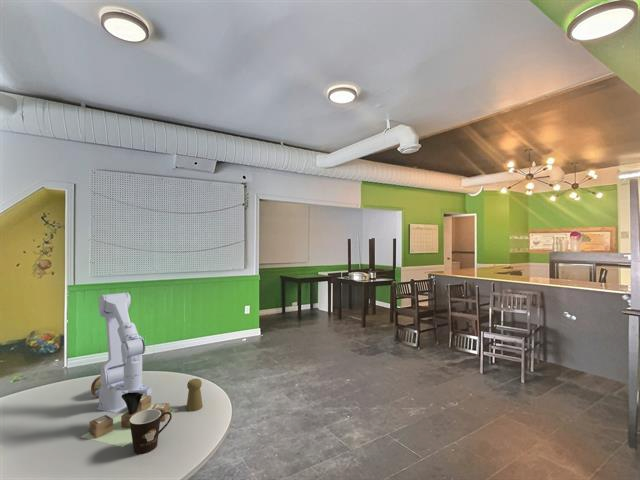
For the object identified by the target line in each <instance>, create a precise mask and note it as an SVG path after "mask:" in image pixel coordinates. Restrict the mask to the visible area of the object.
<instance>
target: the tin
mask: <svg viewBox="0 0 640 480" xmlns="http://www.w3.org/2000/svg"><path fill="white" fill-rule="evenodd" d="M101 386H102V385H101V381H100V375H99V376H98V377H96V378H95V379H94V380H93V381H92V383H91V386H90V391H91V394H92V395H93V396H95V397H96V398H99V390H100V388H101Z"/></svg>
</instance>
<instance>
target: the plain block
mask: <svg viewBox="0 0 640 480" xmlns="http://www.w3.org/2000/svg"><path fill="white" fill-rule="evenodd" d="M126 411H127V410H126ZM141 411H144V409H137V412H135V413H134V414H136V413H138V412H141ZM134 414H129V412H128V411H127V412H126V413H125V414H123V415H122V416H121V428H131V427H130V418H131V417H132V416H133V415H134Z"/></svg>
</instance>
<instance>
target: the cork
mask: <svg viewBox="0 0 640 480" xmlns="http://www.w3.org/2000/svg"><path fill="white" fill-rule="evenodd" d="M202 384H203V383H202V380H201V379H200V378H192V379H190V380H189V381H187V386H186V387H187V389H188V394H187V401H186V408H185V409H186V411H187V412H192V413H193V412H198V411H199V410H201V409H203V405H204V404H203V400H202V392H201V387H202Z"/></svg>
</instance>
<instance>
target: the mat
mask: <svg viewBox="0 0 640 480" xmlns="http://www.w3.org/2000/svg"><path fill="white" fill-rule="evenodd" d="M154 405H155V404H152V403H151V407H149V408H148V409H147V410H149V409H152V408H153V406H154ZM178 410H179V409H178V408H173V407H169V412H170V413H171V415H172V414H174V413H176V412H177V411H178ZM127 411H128V409H127V410H126V411H123V412H122V413H120V414H119V415H117V416H115V417H113V418H112V419H113V431H112V432H110V433H107V434H105V435H103V436H101V437H99V438H95V437H94V436H92V435H91V434H89V432H87V433H85V434H83V435H81V436H80V438H83V439H87V440H91V441H96V442H100V443H104V444H108V445H112V446H116V447H119V448H120V447H121V448H125V446H127V445H128V444H130V443H132V434H131V428H121V416H122V415H123V414H125V413H126V412H127ZM168 417H170V415H168ZM161 422H162V421H160V423H161Z"/></svg>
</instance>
